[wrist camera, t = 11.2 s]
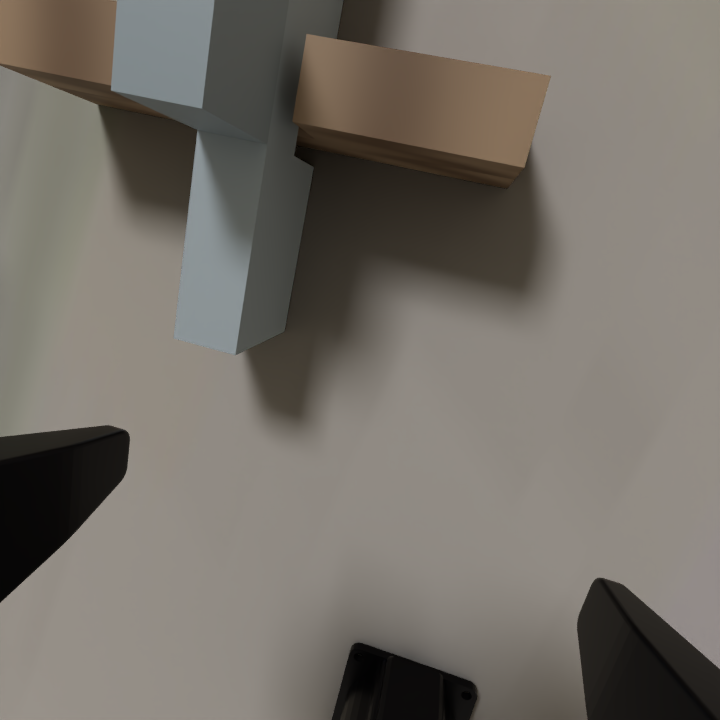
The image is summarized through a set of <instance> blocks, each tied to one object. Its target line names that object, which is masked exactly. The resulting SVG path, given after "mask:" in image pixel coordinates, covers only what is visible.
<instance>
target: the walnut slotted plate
mask: <svg viewBox="0 0 720 720" xmlns="http://www.w3.org/2000/svg"><path fill="white" fill-rule="evenodd" d="M116 9H117V1H112V0H0V65H1V66H3V67H5V68H8V69H10V70H13V71H15V72H18V73H20V74H23V75H25V76H28V77H30V78H33V79H35V80H38V81H40V82H43V83H45V84H48V85H50V86H53V87H55V88H58V89H60V90H63V91H65V92H68V93H70V94H73V95H75V96H78V97H80V98H83V99H85V100H88V101H90V102H93V103H95V104H98V105H103V106H108V107H113V108H118V109H123V110H127V111H132V112H137V113H142V114H147V115H152V116H157V117H161V118H166V119H171V120H174V119H172V118H170V117H168V116H166V115H164V114H161V113H159V112H157V111H155V110H153V109H150V108H148V107H146V106H144V105H142V104H139V103H137V102H135V101H133V100H131V99H129V98H126V97H124V96H122V95H120V94H118V93H115V92H113V91H111V81H112V67H113V52H114V38H115V23H116ZM550 78H551V76H548V75H543V74H537V73H531V72H525V71H519V70H513V69H508V68H502V67H496V66H490V65H484V64H479V63H473V62H467V61H461V60H455V59H449V58H444V57H438V56H432V55H426V54H420V53H415V52H409V51H403V50H397V49H391V48H385V47H380V46H374V45H368V44H362V43H356V42H351V41H345V40H339V39H333V38H327V37H321V36H316V35H310V34H306V41H305V47H304V53H303V59H302V65H301V71H300V77H299V83H298V89H297V95H296V102H295V108H294V114H293V120H292V122H294V123H295V124H296V125H297V126H299V129H298V135H297V141H296V145H297V146H302V147H307V148H312V149H317V150H321V151H326V152H331V153H336V154H341V155H346V156H350V157H355V158H360V159H365V160H370V161H375V162H380V163H384V164H389V165H394V166H399V167H404V168H409V169H413V170H418V171H423V172H428V173H433V174H438V175H443V176H447V177H452V178H457V179H462V180H467V181H472V182H477V183H481V184H486V185H491V186H496V187H501V188H506V189H507V188H508V187H509V186H510V184H511V183H512V182H513V181H514V180H515V178H516V177H517V176H518V175H519V174H520V172H521V171H522V170H523V169H524V167H525V164H526V160H527V157H528V153H529V150H530V146H531V143H532V140H533V136H534V133H535V129H536V126H537V122H538V119H539V115H540V112H541V109H542V105H543V102H544V98H545V95H546V91H547V88H548V84H549V81H550ZM176 121H177V120H176Z"/></svg>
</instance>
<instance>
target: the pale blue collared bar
mask: <svg viewBox="0 0 720 720" xmlns="http://www.w3.org/2000/svg"><path fill="white" fill-rule="evenodd" d="M343 1H344V0H117V9H116V23H115V38H114V52H113V67H112V81H111V91H113V92H115V93H118V94H120V95H122V96H124V97H126V98H129V99H131V100H133V101H135V102H137V103H139V104H142V105H144V106H146V107H148V108H150V109H153V110H155V111H157V112H159V113H161V114H164V115H166V116H168V117H170V118H172V119H174V120H177V121H179V122H181V123H183V124H185V125H188V126H190V127H192V128H194V129H196V130H198V131H197V139H196V148H195V157H194V166H193V174H192V183H191V192H190V200H189V209H188V218H187V226H186V235H185V244H184V253H183V261H182V270H181V279H180V287H179V296H178V305H177V313H176V322H175V331H174V339H178V340H182V341H185V342H189V343H193V344H196V345H200V346H203V347H207V348H211V349H214V350H218V351H222V352H225V353H229V354H233V355H237V354H239V353H241V352H243V351H245V350H247V349H249V348H251V347H253V346H256V345H258V344H260V343H262V342H264V341H266V340H268V339H270V338H272V337H274V336H276V335H279V334H281V333H283V332H284V331H285V326H286V320H287V315H288V309H289V303H290V298H291V292H292V287H293V281H294V275H295V270H296V264H297V259H298V253H299V247H300V242H301V236H302V231H303V225H304V219H305V214H306V208H307V203H308V197H309V191H310V186H311V180H312V175H313V169H314V167H312V166H311V165H309V164H307V163H305V162H304V161H302V160H300V159H298V158H297V157H295V156H294V153H295V147H296V141H297V135H298V129H299V126H297V125H296V124H295V123H294V122H292V120H293V114H294V108H295V102H296V95H297V89H298V83H299V77H300V71H301V65H302V59H303V53H304V47H305V41H306V34H310V35H316V36H321V37H327V38H333V39H337V34H338V29H339V23H340V18H341V12H342V6H343Z"/></svg>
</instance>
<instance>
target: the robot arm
mask: <svg viewBox="0 0 720 720" xmlns="http://www.w3.org/2000/svg"><path fill="white" fill-rule="evenodd" d="M129 444H130V436H129V433H128V432H127V431H126V430H123V429H120V428H117V427H114V426H109V425H105V426H96V427H87V428H78V429H69V430H60V431H51V432H42V433H33V434H24V435H15V436H6V437H0V602H1V601H3V600H4V599H5V598H6V597H7V596H8V595H9V594H10V593H11V592H12V591H13V590H14V589H16V588H17V587H18V586H19V585H20V584H21V583H22V582H23V581H24V580H25V579H26V578H27V577H29V576H30V575H31V574H32V573H33V572H34V571H35V570H36V569H37V568H38V567H39V566H41V565H42V564H43V563H44V562H45V561H46V560H47V559H48V558H49V557H50V556H51V555H52V554H54V553H55V552H56V551H57V550H58V549H59V548H60V547H61V546H62V545H63V544H64V543H65V542H66V541H67V540H68V539H69V538H70V537H71V536H72V535H73V534H74V533H75V532H76V531H77V530H78V529H79V528H80V526H81V525H82V524H83V523H84V522H85V521H86V520H87V519H88V517H89V516H90V515H91V514H92V513H93V512H94V511H95V510H96V509H97V507H98V506H99V505H100V504H101V503H102V502H103V501H104V500H105V499H106V497H107V496H108V495H109V494H110V493H111V492H112V491H113V490H114V489H115V487H116V486H117V485H118V484H119V483H120V482H121V481H122V479H123V478H124V476H125V474H126V470H127V464H128V454H129ZM577 632H578V640H579V649H580V658H581V667H582V676H583V684H584V693H585V702H586V710H587V717H588V720H720V669H719V668H718V667H717V666H716V665H714V664H713V663H712V662H711V661H710V660H709V659H708V658H706V657H705V656H704V655H703V654H702V653H701V652H700V651H698V650H697V649H696V648H695V647H694V646H693V645H692V644H690V643H689V642H688V641H687V640H686V639H685V638H684V637H682V636H681V635H680V634H679V633H678V632H677V631H676V630H674V629H673V628H672V627H671V626H670V625H669V624H668V623H666V622H665V621H664V620H663V619H662V618H661V617H660V616H658V615H657V614H656V613H655V612H654V611H653V610H652V609H650V608H649V607H648V606H647V605H646V604H645V603H644V602H642V601H641V600H640V599H639V598H638V597H637V596H636V595H634V594H633V593H632V592H631V591H630V590H629V589H628V588H626V587H625V586H624V585H622V584H620V583H617V582H614V581H611V580H608V579H604V578H597V579H595V580H594V582H593V583H592V585H591V587H590V590H589V592H588V594H587V597H586V599H585V602H584V604H583V606H582V609H581V611H580V614H579V617H578V622H577ZM357 653H360V654H362V655H359V654H357ZM464 691H467V692H469V693H466V692H464ZM476 700H477V688H476V686H475V685H474V684H473V683H472V682H470V681H468V680H466V679H463V678H460V677H457V676H454V675H451V674H448V673H446V672H443V671H440V670H437V669H434V668H431V667H428V666H426V665H423V664H420V663H417V662H414V661H411V660H408V659H406V658H403V657H400V656H397V655H394V654H391V653H389V652H386V651H383V650H380V649H377V648H374V647H371V646H369V645H366V644H363V643H355V644H353V645H352V647H351V650H350V653H349V657H348V661H347V665H346V668H345V672H344V676H343V680H342V683H341V687H340V691H339V695H338V698H337V702H336V706H335V710H334V713H333V717H332V720H469V719H470V716H471V713H472V710H473V708H474V705H475V702H476Z"/></svg>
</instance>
